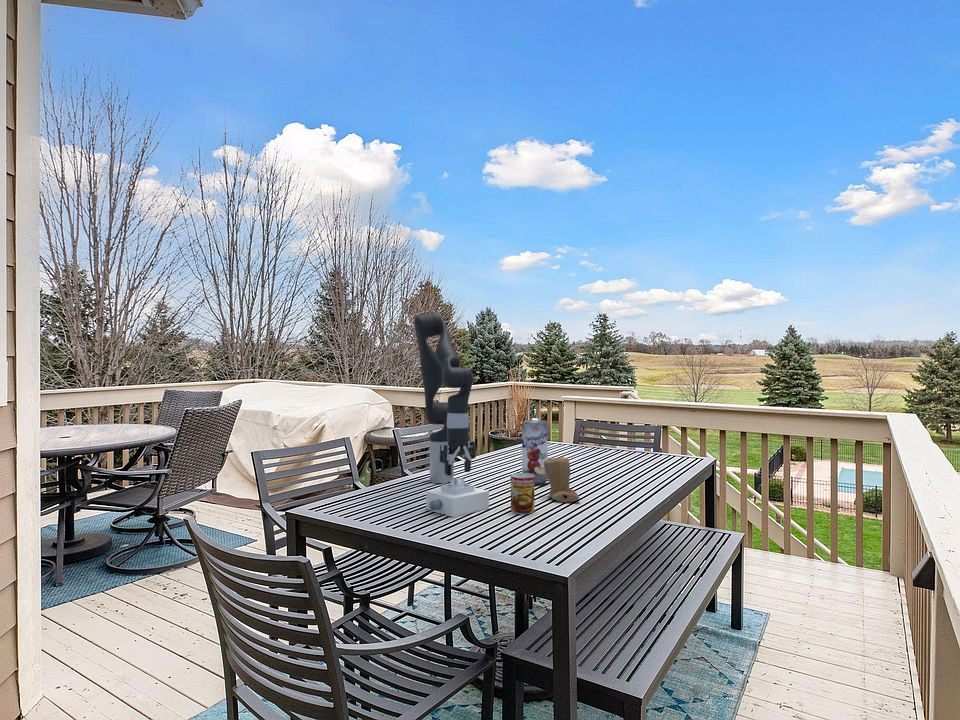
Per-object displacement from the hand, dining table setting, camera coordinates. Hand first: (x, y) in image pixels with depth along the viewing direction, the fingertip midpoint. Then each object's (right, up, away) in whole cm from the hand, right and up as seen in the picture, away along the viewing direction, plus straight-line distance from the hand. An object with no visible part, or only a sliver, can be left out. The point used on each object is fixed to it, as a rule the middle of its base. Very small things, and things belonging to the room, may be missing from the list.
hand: (458, 473), depth 192 cm
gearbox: (-1, -12, -1) cm, 12 cm away
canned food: (+22, -12, -3) cm, 25 cm away
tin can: (0, -12, 0) cm, 12 cm away
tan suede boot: (+37, -12, +15) cm, 42 cm away
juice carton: (+30, -13, +41) cm, 52 cm away
